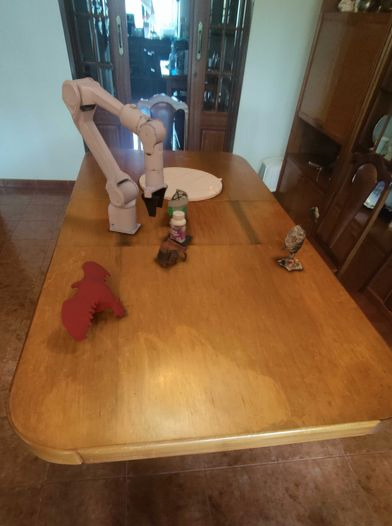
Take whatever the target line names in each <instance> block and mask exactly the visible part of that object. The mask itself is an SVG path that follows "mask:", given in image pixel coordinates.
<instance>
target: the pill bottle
mask: <svg viewBox="0 0 392 526" xmlns="http://www.w3.org/2000/svg"><path fill="white" fill-rule="evenodd" d="M184 217H185V219H184ZM186 231H187V220H186V215H185V216H184V212H182V211H174V212H173V218H172V219H171V226H170V232H169V234H170V238H172V239H175V240H177V241H179V242H180V243H181V242H184V241H185V236H186Z"/></svg>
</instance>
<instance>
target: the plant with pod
mask: <svg viewBox="0 0 392 526" xmlns="http://www.w3.org/2000/svg"><path fill="white" fill-rule="evenodd" d="M308 217H309V220H308V223H307V225H306V227H305V229H303V227H302V226H301V223H299V224H297V225H294V226H293V227H292V228H291V229H290V230H289V231H288V232H287V233H286V235H285V237H284V242H283V245H284V246H283V247H281V251H282V250H284V249H286V250H287V251H288V252H289V256H287V257H284V258H277V259H276V261H277V263H278V264H279V265H280V266H283V267H284V268H286V270H288V271H289V272H291V271H295V270H301V271H303V270H305V268H304V267H303V266H302V263H301V261H299V259H298V258H296V257H295V256H296V254H298V253H299V252H300V250H301V249H302V247H303V245H304V243H305V240H306V236H307V235H306V232H307V230H308V227H309V226H310V224H311V222H312V220H313V221H314V222H315V224H317V222H318V221H317V219H318V218H319V217H320V214H319V208H318V207H317V206H315V207H314V206H313V207H311V208H310V209H309V216H308Z"/></svg>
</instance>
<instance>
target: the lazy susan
mask: <svg viewBox="0 0 392 526" xmlns="http://www.w3.org/2000/svg"><path fill="white" fill-rule="evenodd" d="M163 176H164V183H167V185H168V188H167V190H166V192H165V196H164V200H168V201H169V200H171V199H172V197H173V195H174V194H175V193H176V189H179V190H183V191H185V192H186V193H187V195H188V199H189V202H198V201H203V200H209V199H212V198H214V197H216V196H218V195H219V194H221V192H222V190H223V183H222V180H223V177H222V178H221V177H219V178H218V177H217V176H215V175H214V174H212V173H209V172H206V171H203V170H200V169H195V168H189V167H178V166H177V167H176V166H175V167H172V166H171V167H163ZM138 182H139V186H140V188H141V189H142V190H143V192H144V191H145V182H146V180H145V173H143V174H142V175H141V176H140V178H139V181H138Z"/></svg>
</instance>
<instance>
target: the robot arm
mask: <svg viewBox="0 0 392 526" xmlns="http://www.w3.org/2000/svg"><path fill="white" fill-rule="evenodd" d="M61 100H62V101H63V103H64V105H65V106H66V108H67V110H68V112H69V113H70V116H71V119H72V121H73V124H74V126H75V127H76V129H77V131H78V133H79V135H80V136H81V138H82V139H83V141H84V143H85V144H86V146H87V148H88V150H89V151H90V153H91V155H92V157H93V159H94V160H95V162H96V163H97V165H98V166H99V168H100V170H101V171H102V173H103V176H105V178H106V184H105V186H104V187H105V190H106V192H107V194H108V198H109V201H110V202H109V204H108V206H107V215H108V223H109V231H112V232H117V233H118V232H119V233H122V234H129V235H135V234H136V233H137V232H138V230H139V229H140V227H141V226H142V224H141V223H138V220H137V207H136V203H137V199H138V197H139V194H140V191H139V190H140V189H139V187H138V185H137V183H136V182H135V181H134V180H133V179H132V178H131V177H130V175H129V174H127V173H126V172H124V171H122V170H121V168H120V166H119V164H118V163H117V160H116V159H115V158H114V155H113V154H112V152H111V150H110V149H109V146H108V145H107V143H106V142H105V140H104V138H103V136H102V134H101V133H100V131H99V129H98V127H97V126H96V124H95V122H94V115H95V114H96V110H97V108H98V107H97V106H99V107H100V108H102V109H103V110H105V111H107V112H109V113H111V114H112V115H114V116H116V117H118V118H119V121H120V124H121V126H123V127H124V128H126V129H127V130H128V131H130V132H131V133H133V134H134V135H136V136H137V137H138V138H139V141H140V143H141V145H142V150H143V157H144V158H143V161H144V174H145V180H146V182H145V191H144V190H143V192H142V193H141V195H140V197H141V200H142V201H143V202H144V206H145V208H146V211H147V215H148V217H150V218H155V217H156V215H157V208H158V209H163V207H164V200H165V199H164V196H165V192H166V190H167V188H168V185H167V183H164V176H163V168H164V141H165V139H166V137H167V128H166V125H165V123H164V122H163V121H162V120H161V119H160V118H151V115H150V114H145V113H144V112H143V111H141V110H140V109H138V106H137V105H136V104H135V103H127V104H123V103H122V102H121V101H120V100H119V99H117V98H116V97H115V96H113V95H112V94H111V93H109V92H108V91H107V90H106V89H105V88H103V87H102V86H101V84H100V83H99V82H98V81H95V80H94V79H93V78H92V77H88V76H87V77H83V78H79V79H66V80H64V81H63V82H62V85H61Z"/></svg>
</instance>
